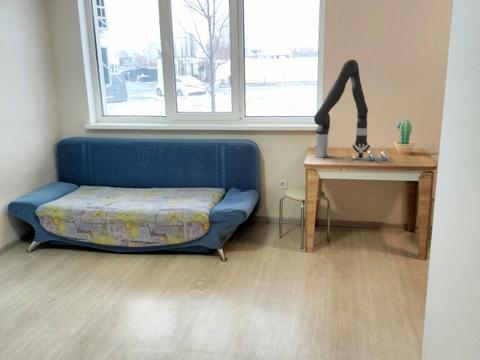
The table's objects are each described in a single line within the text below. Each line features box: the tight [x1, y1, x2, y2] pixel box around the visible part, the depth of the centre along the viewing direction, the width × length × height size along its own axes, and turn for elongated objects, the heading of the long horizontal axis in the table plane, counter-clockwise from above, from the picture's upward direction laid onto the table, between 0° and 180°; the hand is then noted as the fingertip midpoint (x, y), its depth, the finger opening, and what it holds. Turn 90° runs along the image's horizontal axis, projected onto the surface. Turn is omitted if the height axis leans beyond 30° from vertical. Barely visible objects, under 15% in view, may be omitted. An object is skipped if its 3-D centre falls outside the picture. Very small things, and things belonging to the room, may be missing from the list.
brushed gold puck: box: [352, 155, 359, 160], centre depth 320 cm, size 4×4×2 cm
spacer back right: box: [380, 150, 387, 159], centre depth 321 cm, size 3×3×5 cm
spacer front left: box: [369, 152, 375, 162], centre depth 314 cm, size 3×3×5 cm
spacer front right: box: [382, 152, 389, 162], centre depth 313 cm, size 3×3×5 cm
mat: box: [349, 156, 388, 162], centre depth 319 cm, size 25×12×1 cm, turn 81°
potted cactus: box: [393, 119, 416, 155], centre depth 334 cm, size 15×15×25 cm
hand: (360, 157), depth 320 cm, fingers closed
